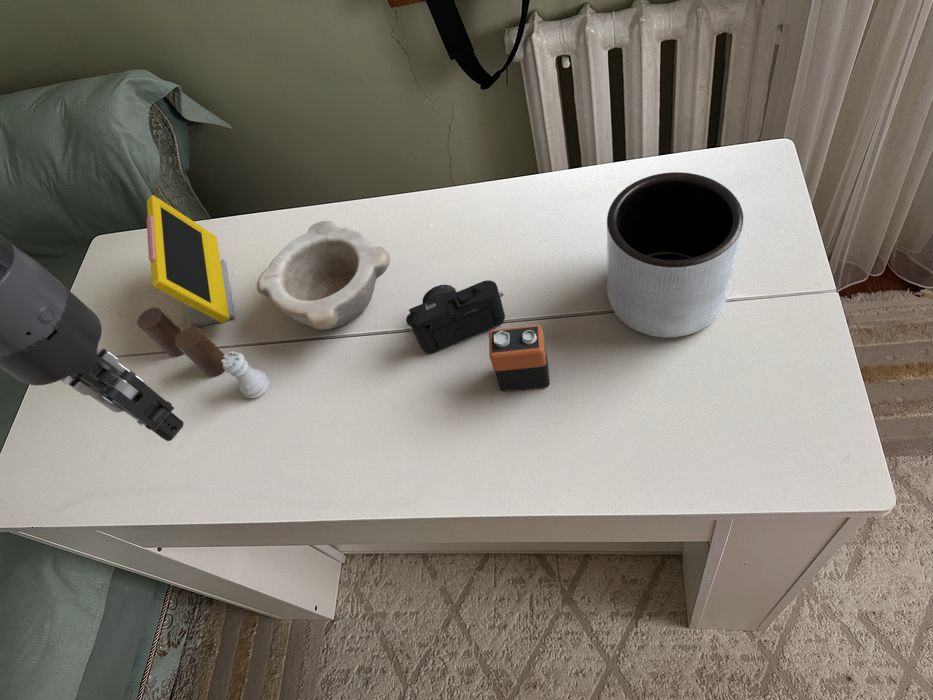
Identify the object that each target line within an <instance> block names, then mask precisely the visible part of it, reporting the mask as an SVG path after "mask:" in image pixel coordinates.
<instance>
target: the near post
mask: <svg viewBox="0 0 933 700" xmlns="http://www.w3.org/2000/svg"><path fill="white" fill-rule="evenodd" d="M181 330H182V331H181V332H180V333H179V334H178V335H177V337H176V340H175V343H176V346H177V347H178V348H179V349H180V350H181V351H182V352H183V353H184V354H183V355H186V357H187V358H188V359H189V360H190V361H191V362H193V364H195V365H196V366H197V367H198V368H199V369H200V370H201V371H202V372H203V373H204V374H205V375H206V376H208V377H211V378H214V377H215V378H216V377H218V376H220V375H222V374H223V373H224V372H226V371H225V370H224V369H223V363H222V359H225V358H224V357H223V356H224V355H225V353H224V352H223V351H222V350H221V349H220V348H219V347H218V346H217V344H215V343H214V342H213V341H212V340H211V339H210V337H208V335H206V334H205V332H203V331H202V329H200V328H199V327H195V326H190V325H189V326H187V327H185V328H183V329H181Z"/></svg>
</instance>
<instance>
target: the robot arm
mask: <svg viewBox="0 0 933 700" xmlns="http://www.w3.org/2000/svg"><path fill="white" fill-rule="evenodd" d="M102 330H103V329H102V322H101V320H100V318H99V316H98V315H97V314H96V313H95V311H93V310H92V309H91V308H89V306H87V305H86V304H85V303H84V302H83V301H82V300H81V299H79V297H78V296H76V295H75V294H74V293H73V292H72V291H70V289H68V288H67V287H66V286H65V285H64V284H63V283H62V282H60V280H58V279H57V277H55V276H54V275H53V274H52V273H51V272H49V270H47V268H45V267H44V266H43V265H42V264H40V263H39V262H38V261H37V260H35V259H34V258H33V257H31V256H30V255H28V254H27V253H26V252H24V251H22V250H21V249H20V248H18V247H16V246H15V245H14V244H12V243H11V241H9V240H7V238H5V236H3V235H2V234H1V233H0V369H1V370H3V371H4V372H6V373H7V374H9V375H10V376H11V377H13V378H15V379H16V380H18V381H19V382H20V383H23V384H26V385H28V386H29V385H30V386H45V385H51V384H53V383H54V384H55V383H56V382H59V381H60V382H61V383H63V384H65V385H68V386H69V387H71V389H73V390H75V392H78V393H80V394H81V395H82V396H89V397H91V398H92V399H93V400H95V401H97V402H98V403H100V404H101V405H102V406H103V407H105V408H107V409H109V410H110V411H111V412H113V413H116V414H119V413H122V412H124V413H125V414H127V415H128V416H130V417H131V418H132V419H134V420H136V423H137V424H139V425H140V426H142V425H143V426H144V427H145V428H146V429H148V430H149V431H152V432H153V433H154V434H156V435H157V436H159V437H160V438H161V439H162V440H164V441H166V442H171V441H172V440H173V439H174V438H175V437H176V436H177V434H179V432H180V431H181V430H182V428H183V427H184V425H185V423H184V421H183V420H182V419H180V418H179V417H178V416H177V415H176V414H175V413H173V411H174V410H175V407H174V405H173V404H172V403H171V402H170V401H168V400H166V399H164V397H162V396H161V395H159V394H158V393H157V392H156V391H154V390H153V389H152V388H151V387H150V386H148V384H146V382H145V381H144V380H143V379H142V378H141V377H139V376H138V375H137V374H136V373H135V372H134V371H132V370H129V369H128V368H127V367H125V366H124V365H122V364H121V362H120V360H119V358H118V357H117V356H115V355H114V354H112V353H111V352H109V350H107V349H105V348H104V347H103V348H101V349H99V343H100V341H101V337H102Z"/></svg>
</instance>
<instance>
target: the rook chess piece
mask: <svg viewBox="0 0 933 700" xmlns="http://www.w3.org/2000/svg"><path fill="white" fill-rule="evenodd" d="M223 357H224V358H225V359H222V363H223V369H224V370H225V371H224V372H226V373H230V375H231V376H232V377H235V378H236V380H237V381H238V383H237V384H238V389H239V391H240V393H242V395H243V396H244V397H245V398H247V399H255V398H259V397H262V396H263V395H264V394H266V392H267V391H268V389H269V386H270V377H269V375H268V374H267V373H265V372H264V371H263V370H261V369H258V368H253V367H252V366H250V365H249V362H248V361H247V360H246V359H245V356H244V354H243V353H241V352H237V351H233V350H231V351H228V354H226V353H224V356H223Z"/></svg>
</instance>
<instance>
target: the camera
mask: <svg viewBox="0 0 933 700" xmlns="http://www.w3.org/2000/svg"><path fill="white" fill-rule="evenodd" d="M503 296H504V293H503V291H499V287H498V285H497V283H496V282H495V281H494V280H490V279H487V280H483V281H480V282H478V283H475V284H473V285H471V286H468V287H466V288H463V289H461V290H459V291H457V289H456V288H455V287H453V286H452V285H451V284H439V285H437V286H434V287H432V288H430V289H429V290H428V291H427V292H425V293H424V296H423V297H422V301H421V303H420V304H418V305H415V306H412V307H411V308H409V309H408V312H409V313H408V314H407V316H406V317H405V322H406V324H407V326H409V327H410V328H411V329H410V330H409V331H408V333H409V334H410V335H414V338H415V340H416V341H417V343H418V345H419V348H420V350H421V351H422V352H423V353H425V354H427V355H429V354H430V355H432V354H434V353H437V352H439V351H441V350H444V349H447V348H449V347H452V346H453V345H457V344H458V343H461V342H464V341H466V340H468V339H471V338H473V337H475V336H478V335H480V334H482V333H484V332H487V331H491V330H493V329H495V328H496V327H499V326H501V325H502V324H503V323H504V321H505V319H506V315H505V309H504V306H503V302H502V297H503Z"/></svg>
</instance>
